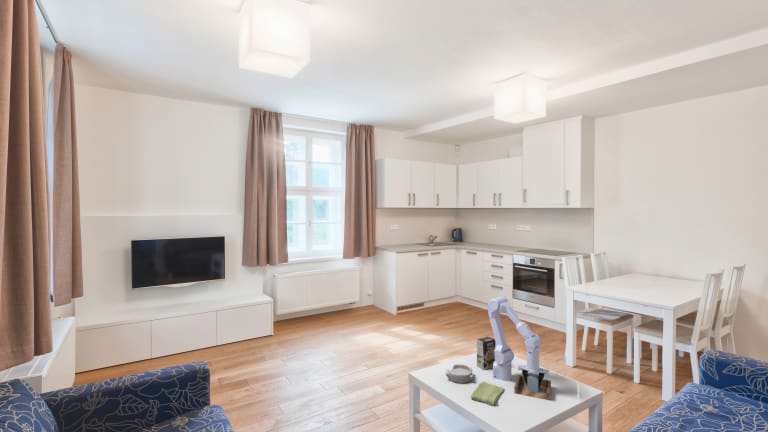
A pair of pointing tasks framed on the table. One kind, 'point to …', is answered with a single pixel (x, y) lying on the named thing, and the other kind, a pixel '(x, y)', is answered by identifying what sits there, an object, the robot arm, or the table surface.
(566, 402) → the table surface
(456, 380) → the dish
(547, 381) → the walnut crate
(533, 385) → the slate block
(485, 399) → the washcloth
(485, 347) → the coffee box
